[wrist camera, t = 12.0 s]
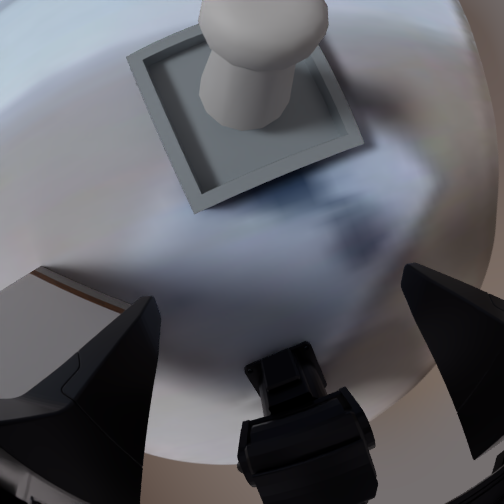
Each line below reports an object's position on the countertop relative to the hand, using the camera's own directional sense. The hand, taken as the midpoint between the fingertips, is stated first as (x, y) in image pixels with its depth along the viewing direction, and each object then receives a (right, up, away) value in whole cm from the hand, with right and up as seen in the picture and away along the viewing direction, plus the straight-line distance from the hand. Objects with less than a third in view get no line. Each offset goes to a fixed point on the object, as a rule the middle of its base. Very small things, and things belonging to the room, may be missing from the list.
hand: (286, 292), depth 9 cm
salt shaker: (-2, +12, +9) cm, 15 cm away
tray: (-2, +13, +10) cm, 16 cm away
